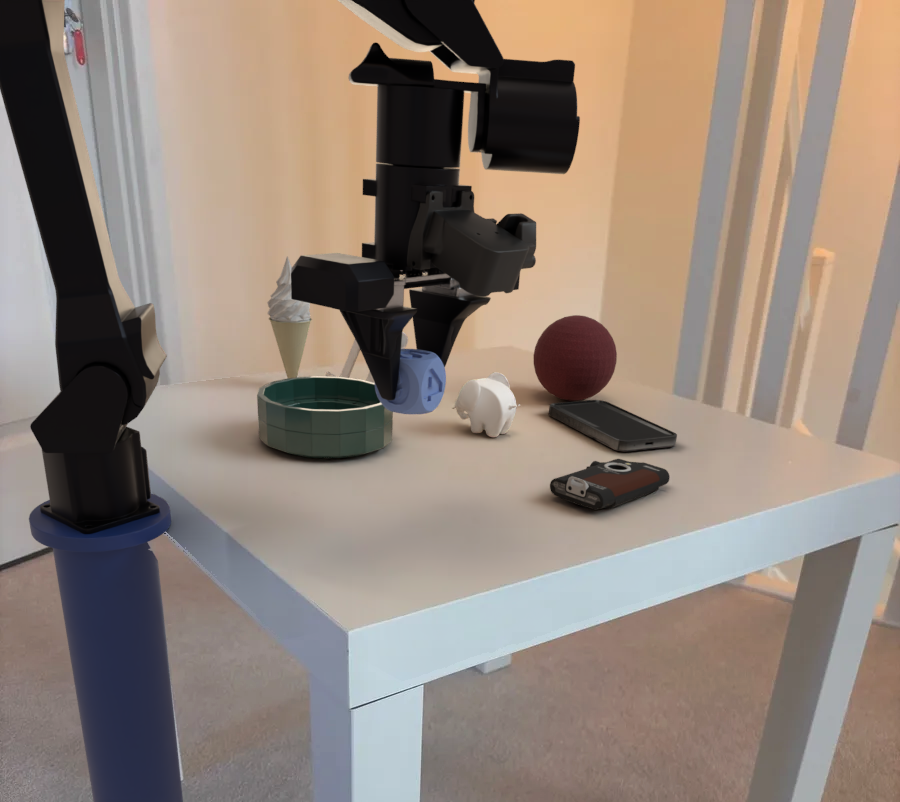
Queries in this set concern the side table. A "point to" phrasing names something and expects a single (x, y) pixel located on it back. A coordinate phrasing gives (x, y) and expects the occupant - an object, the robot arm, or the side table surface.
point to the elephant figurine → (487, 404)
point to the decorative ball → (575, 358)
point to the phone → (612, 425)
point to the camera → (609, 483)
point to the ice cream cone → (289, 322)
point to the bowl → (323, 417)
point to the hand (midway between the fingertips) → (409, 394)
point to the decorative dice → (417, 383)
